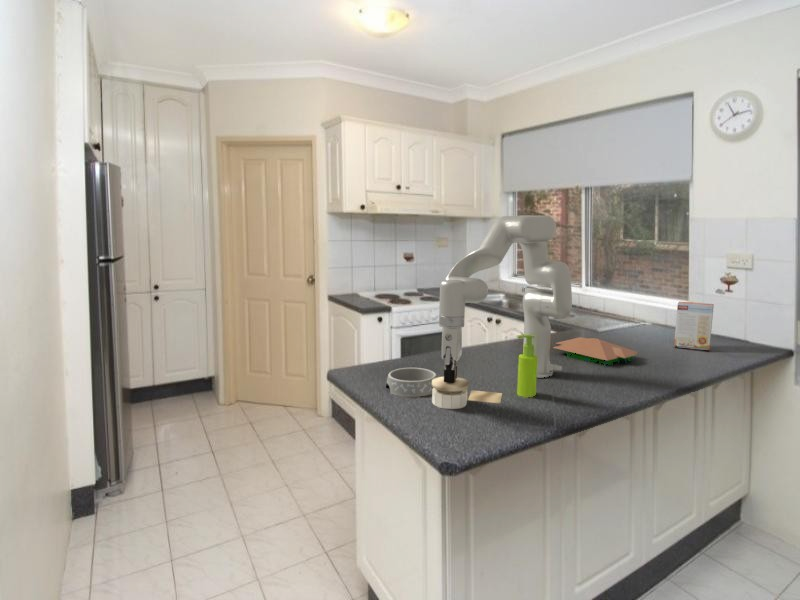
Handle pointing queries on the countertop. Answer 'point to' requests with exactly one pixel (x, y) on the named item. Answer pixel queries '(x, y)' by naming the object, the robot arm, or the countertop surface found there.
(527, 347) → the soap dispenser
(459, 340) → the robot arm
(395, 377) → the dog bowl
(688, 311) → the cracker box
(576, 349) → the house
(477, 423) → the countertop surface
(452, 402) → the bowl
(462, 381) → the lid
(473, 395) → the mat
